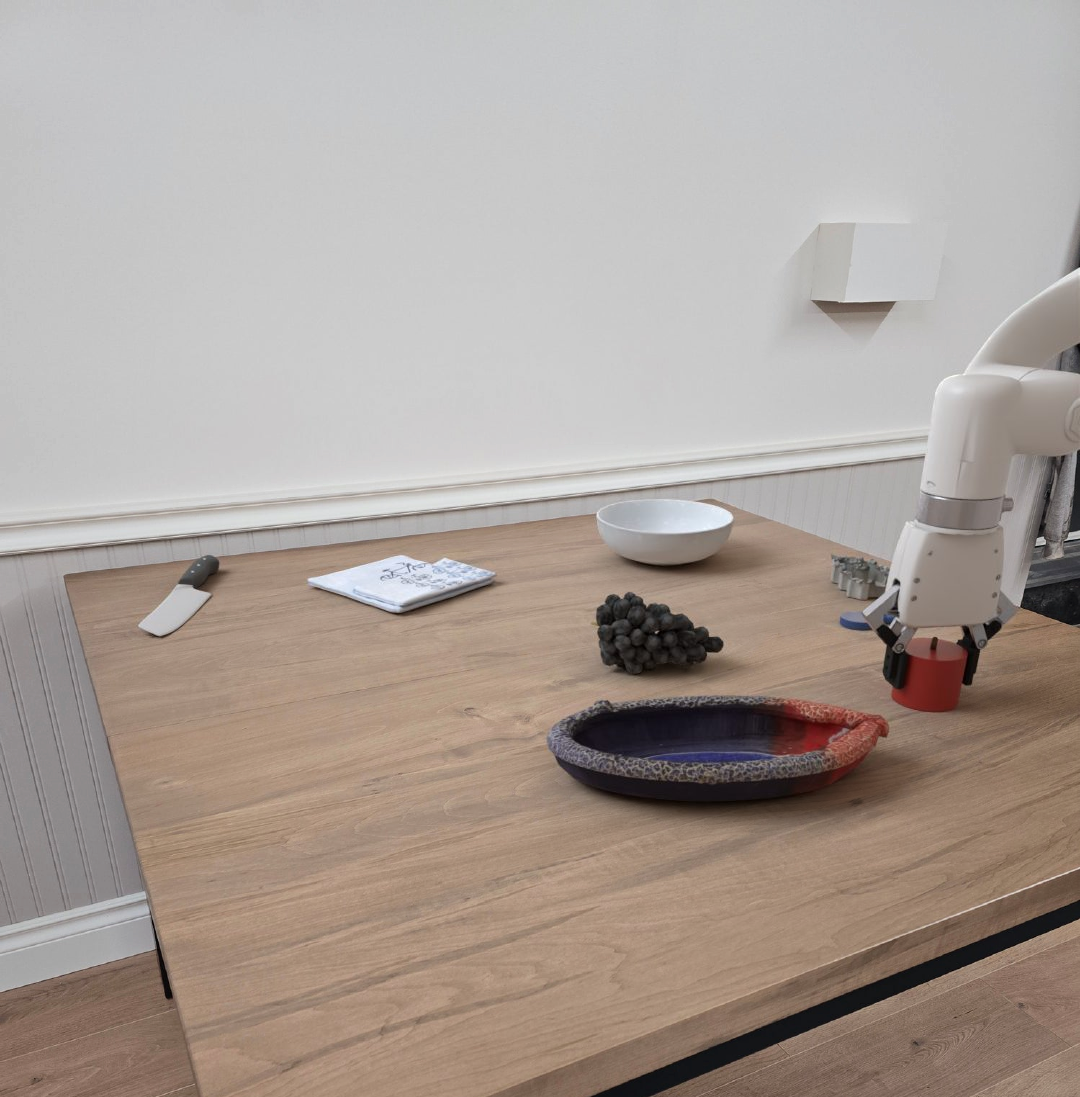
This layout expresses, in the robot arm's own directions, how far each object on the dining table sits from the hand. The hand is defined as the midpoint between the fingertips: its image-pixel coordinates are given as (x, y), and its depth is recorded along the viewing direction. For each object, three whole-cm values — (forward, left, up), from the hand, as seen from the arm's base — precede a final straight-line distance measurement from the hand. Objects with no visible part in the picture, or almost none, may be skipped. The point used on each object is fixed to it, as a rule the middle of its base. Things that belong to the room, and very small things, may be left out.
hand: (927, 681), depth 100 cm
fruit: (+26, -12, -2) cm, 29 cm away
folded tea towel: (+55, -47, -2) cm, 72 cm away
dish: (+26, +13, -2) cm, 29 cm away
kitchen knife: (+84, -44, -2) cm, 95 cm away
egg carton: (-9, -37, -2) cm, 38 cm away
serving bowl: (+15, -56, -2) cm, 58 cm away
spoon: (-8, -23, -2) cm, 24 cm away
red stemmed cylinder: (0, 0, -2) cm, 2 cm away
